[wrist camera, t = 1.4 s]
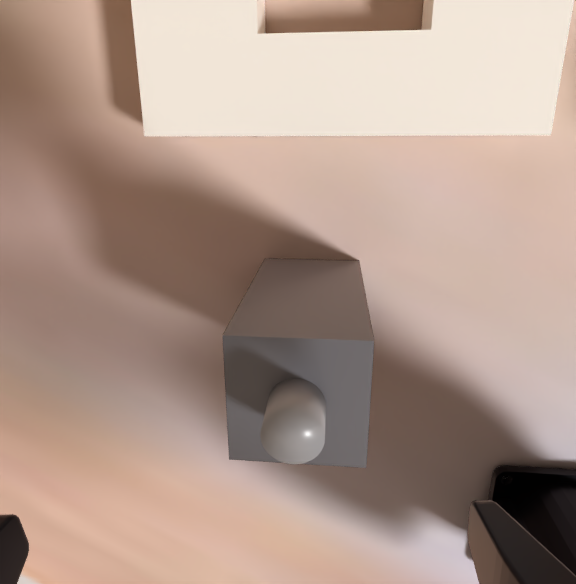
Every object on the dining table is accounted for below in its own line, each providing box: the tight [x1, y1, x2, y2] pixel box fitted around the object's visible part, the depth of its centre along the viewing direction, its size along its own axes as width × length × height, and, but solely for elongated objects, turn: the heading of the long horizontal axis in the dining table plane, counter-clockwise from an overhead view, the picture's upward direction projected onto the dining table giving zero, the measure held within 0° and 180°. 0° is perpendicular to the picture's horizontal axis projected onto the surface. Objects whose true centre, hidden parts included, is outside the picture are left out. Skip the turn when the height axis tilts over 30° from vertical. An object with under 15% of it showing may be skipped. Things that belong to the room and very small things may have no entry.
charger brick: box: [223, 259, 374, 468], centre depth 16 cm, size 4×4×10 cm
